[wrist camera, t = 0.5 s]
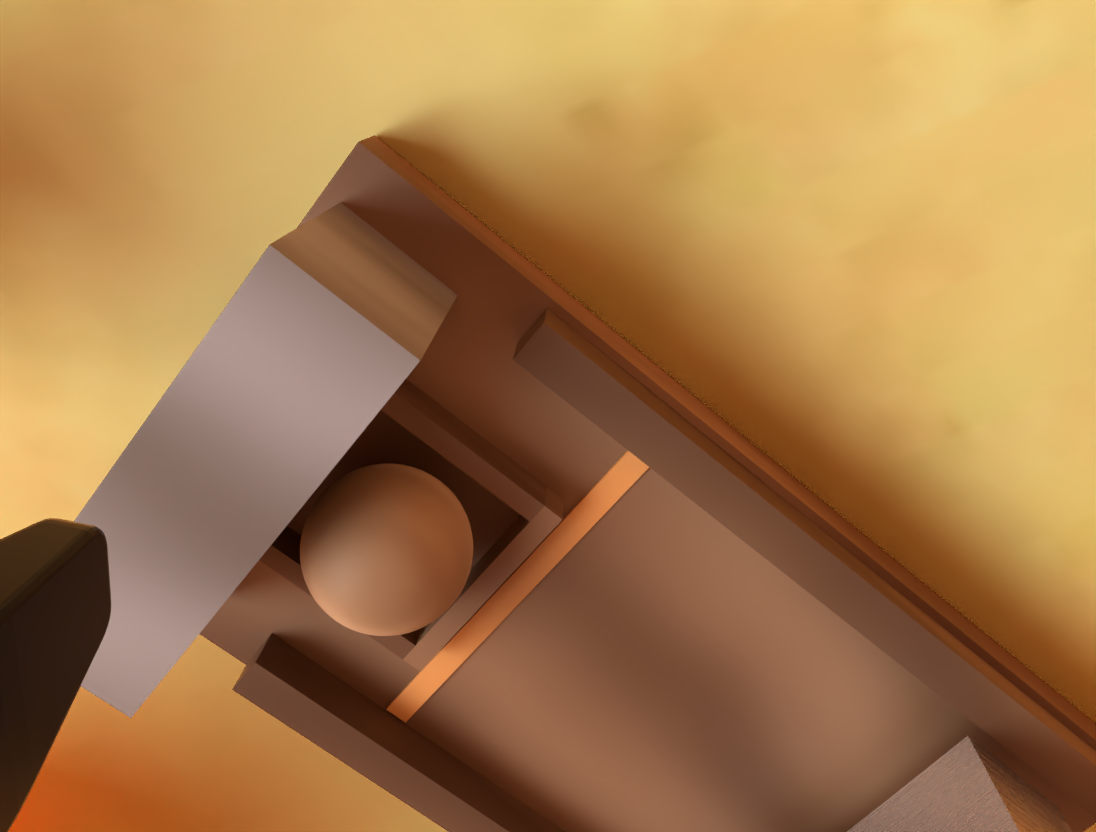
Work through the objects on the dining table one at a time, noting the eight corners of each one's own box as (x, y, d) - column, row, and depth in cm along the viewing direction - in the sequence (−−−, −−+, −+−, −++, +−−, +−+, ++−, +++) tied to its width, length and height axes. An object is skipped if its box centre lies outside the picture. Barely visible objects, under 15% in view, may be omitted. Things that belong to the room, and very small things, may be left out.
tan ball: (420, 605, 23) (389, 702, 19) (295, 517, 22) (241, 602, 19) (513, 502, 22) (498, 585, 18) (386, 406, 21) (345, 474, 18)
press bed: (792, 985, 29) (839, 1213, 23) (99, 518, 24) (-52, 660, 18) (1118, 742, 25) (1268, 943, 19) (375, 135, 20) (290, 168, 15)
